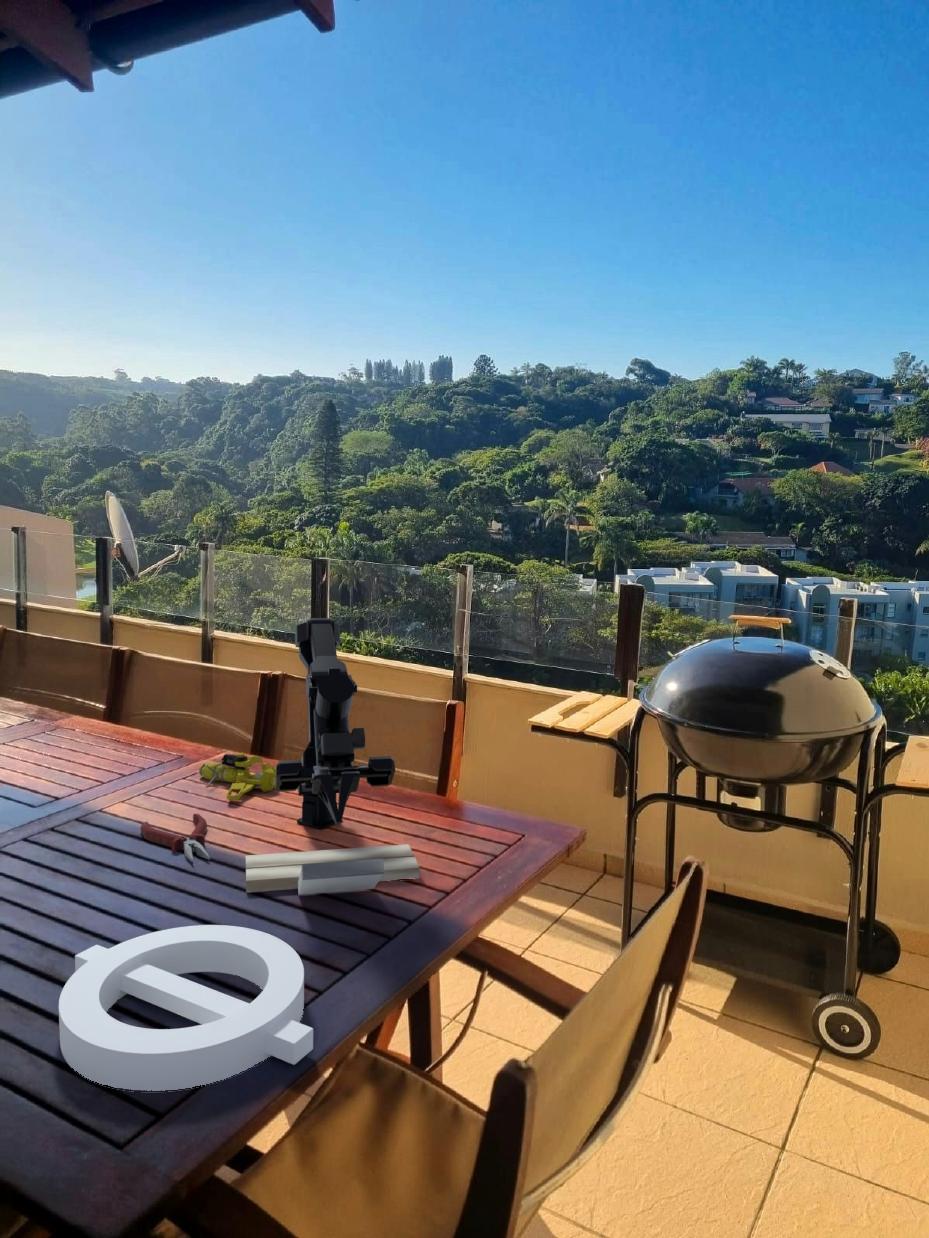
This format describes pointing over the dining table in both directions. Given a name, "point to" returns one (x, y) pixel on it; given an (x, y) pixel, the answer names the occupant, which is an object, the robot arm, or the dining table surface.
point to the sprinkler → (239, 774)
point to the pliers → (180, 838)
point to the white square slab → (340, 876)
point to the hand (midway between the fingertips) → (338, 823)
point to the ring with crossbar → (183, 1008)
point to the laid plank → (286, 867)
